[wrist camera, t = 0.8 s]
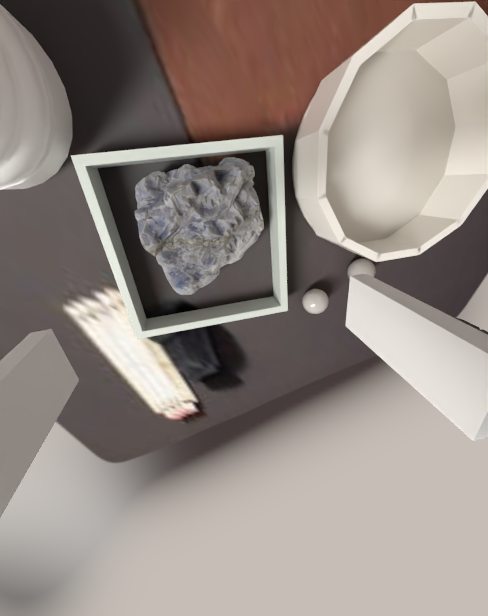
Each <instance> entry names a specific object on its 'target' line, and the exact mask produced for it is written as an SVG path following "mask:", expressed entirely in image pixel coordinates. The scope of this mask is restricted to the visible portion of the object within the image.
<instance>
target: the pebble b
mask: <svg viewBox="0 0 488 616" xmlns="http://www.w3.org/2000/svg"><path fill="white" fill-rule="evenodd" d="M375 272H376V269H375V266H374V264H373V263H372V262H371V261H370V260H368V259H363V258H361V259H357V260H355V261H353V262H352V263H351V264H350V265H349V267H348V270H347V274H348V277H349V279H350V276H354V275H359V274H367V275H369V276H371V277H374V276H375Z"/></svg>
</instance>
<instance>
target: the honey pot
mask: <svg viewBox="0 0 488 616" xmlns="http://www.w3.org/2000/svg"><path fill="white" fill-rule="evenodd" d="M71 141H72V113H71V109H70V105H69V102H68V98H67V94H66V90H65V87H64V85H63V83H62V81H61V79H60V77H59V75H58V73H57V71H56V69H55V67H54V65H53V63H52V61H51V60H50V58H49V57H48V56H47V54H46V53H45V51H44V50H43V49H42V47H41V46H40V45H39V43H38V42H37V41H36V39H35V38H34V36H33V35H32V34H31V33H30V32H29V31H28V30H27V29H26V28H25V27H24V26H23V25H21V24H20V23H19V22H18V21H17V20H16V19H15V18H14V17H13V16H12V15H11V14H10V13H9V12H8V11H7V10H6V9H5V8H4V7H3V6H2V5H1V4H0V189H26V188H29V187H32V186H35V185H38V184H42V183H44V182H45V181H47V180H48V179H49V178H51V177H52V176H53V175H55V174H56V173H57V172H58V171H59V169H60V168H61V166H62V165H63V163H64V162H65V160H66V158H67V157H68V153H69V149H70V145H71Z"/></svg>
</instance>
